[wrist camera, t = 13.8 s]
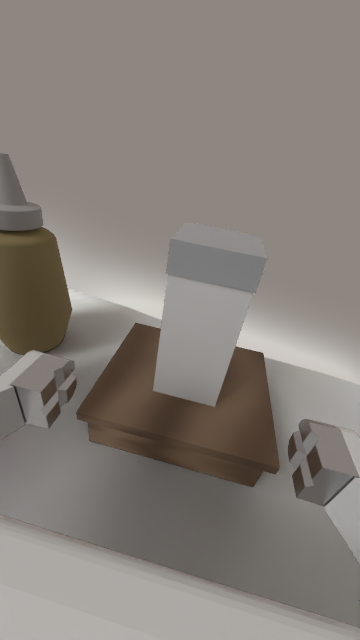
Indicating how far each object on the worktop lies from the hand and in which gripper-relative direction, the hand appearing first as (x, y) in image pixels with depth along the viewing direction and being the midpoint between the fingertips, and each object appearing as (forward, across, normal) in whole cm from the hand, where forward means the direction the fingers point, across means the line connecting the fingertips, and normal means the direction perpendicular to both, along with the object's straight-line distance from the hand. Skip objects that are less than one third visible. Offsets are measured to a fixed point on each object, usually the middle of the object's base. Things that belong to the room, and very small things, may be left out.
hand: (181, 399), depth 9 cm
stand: (+10, 0, +12) cm, 16 cm away
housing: (+10, 0, +8) cm, 13 cm away
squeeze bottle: (+14, +18, +13) cm, 26 cm away
